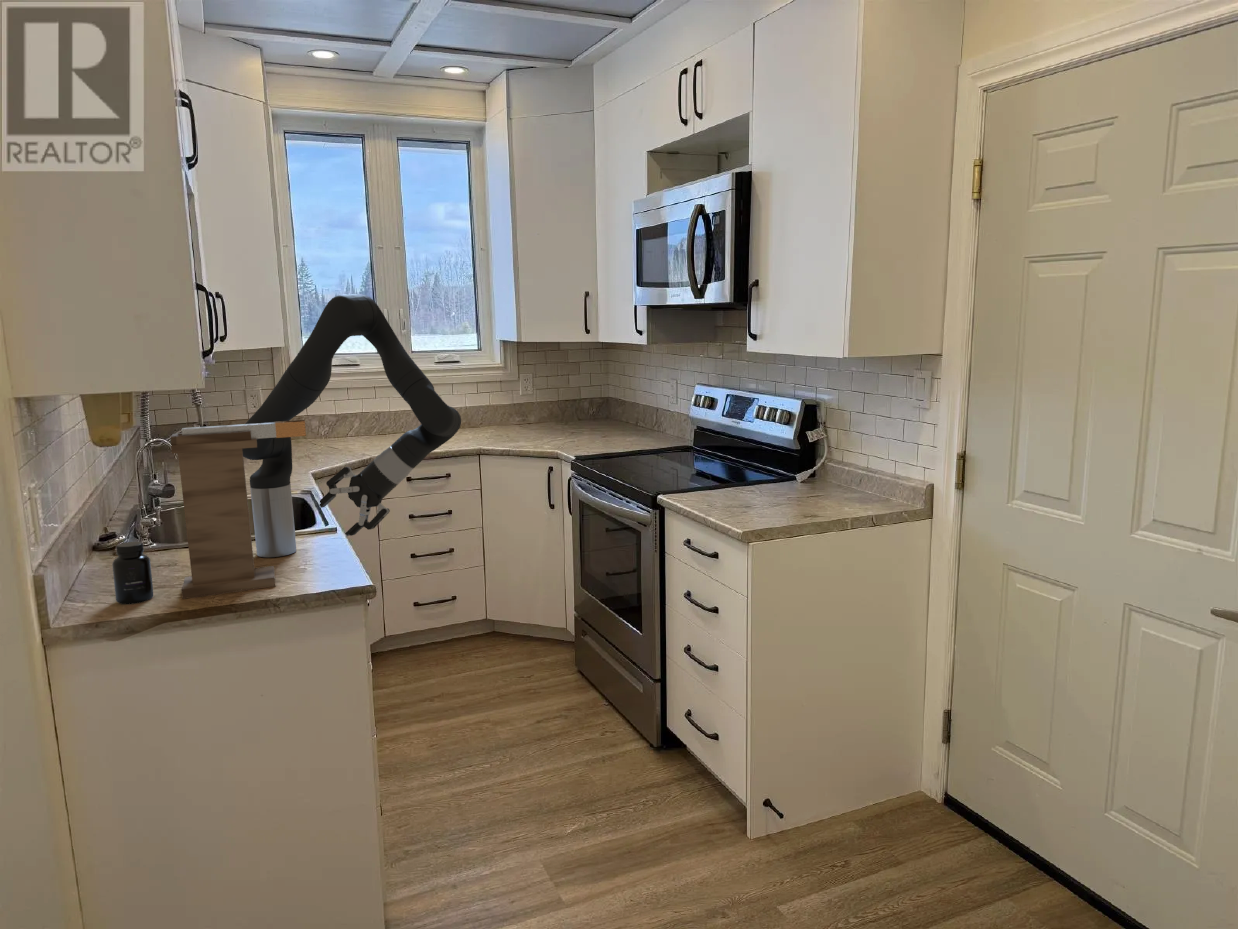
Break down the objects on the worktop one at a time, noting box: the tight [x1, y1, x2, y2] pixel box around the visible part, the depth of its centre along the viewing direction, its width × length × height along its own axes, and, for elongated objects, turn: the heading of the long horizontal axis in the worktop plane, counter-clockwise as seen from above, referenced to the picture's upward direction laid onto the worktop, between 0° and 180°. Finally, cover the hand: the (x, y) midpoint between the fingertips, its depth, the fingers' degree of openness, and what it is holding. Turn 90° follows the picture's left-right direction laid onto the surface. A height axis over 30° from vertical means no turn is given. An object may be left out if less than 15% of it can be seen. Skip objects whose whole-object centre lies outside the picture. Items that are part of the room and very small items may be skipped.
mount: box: [170, 431, 276, 600], centre depth 178 cm, size 10×18×34 cm, turn 114°
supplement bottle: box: [111, 541, 154, 605], centre depth 172 cm, size 7×7×12 cm
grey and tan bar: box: [181, 419, 307, 439], centre depth 178 cm, size 3×24×3 cm, turn 114°
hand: (334, 520), depth 183 cm, fingers open, 8 cm apart
